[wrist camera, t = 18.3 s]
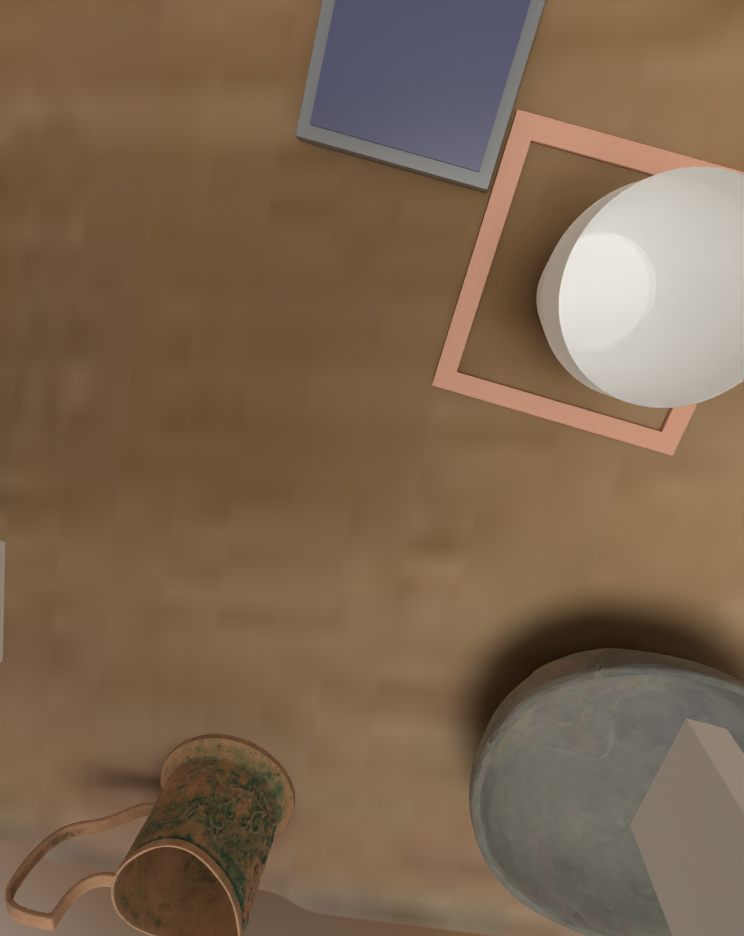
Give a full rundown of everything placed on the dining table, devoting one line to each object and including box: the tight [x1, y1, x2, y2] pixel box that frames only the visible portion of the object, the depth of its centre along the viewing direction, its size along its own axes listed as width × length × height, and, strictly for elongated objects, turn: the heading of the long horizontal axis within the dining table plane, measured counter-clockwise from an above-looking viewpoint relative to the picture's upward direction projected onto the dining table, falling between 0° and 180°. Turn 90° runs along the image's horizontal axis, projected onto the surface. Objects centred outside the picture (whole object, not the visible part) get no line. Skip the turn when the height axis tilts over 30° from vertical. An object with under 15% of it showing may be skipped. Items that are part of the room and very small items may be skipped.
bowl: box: [469, 648, 744, 936], centre depth 37 cm, size 21×21×8 cm
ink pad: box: [296, 0, 545, 193], centre depth 29 cm, size 11×11×1 cm
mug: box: [5, 735, 295, 936], centre depth 42 cm, size 12×18×12 cm, turn 86°
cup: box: [536, 167, 744, 408], centre depth 27 cm, size 9×9×12 cm
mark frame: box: [432, 109, 744, 456], centre depth 32 cm, size 15×15×1 cm
